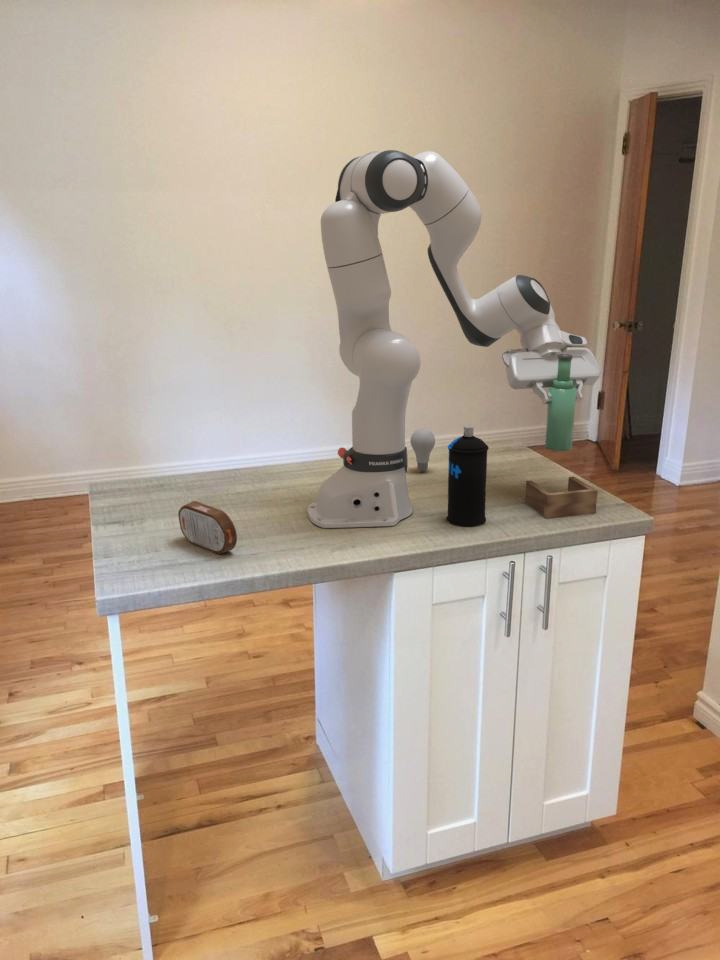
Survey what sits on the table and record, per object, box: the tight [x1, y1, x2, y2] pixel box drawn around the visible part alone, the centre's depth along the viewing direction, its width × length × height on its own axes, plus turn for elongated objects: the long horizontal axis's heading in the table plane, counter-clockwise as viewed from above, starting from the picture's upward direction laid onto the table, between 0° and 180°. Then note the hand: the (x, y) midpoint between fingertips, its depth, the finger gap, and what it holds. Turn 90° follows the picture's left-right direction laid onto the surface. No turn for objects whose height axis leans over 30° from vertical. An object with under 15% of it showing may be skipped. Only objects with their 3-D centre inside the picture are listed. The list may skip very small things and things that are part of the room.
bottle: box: [544, 354, 577, 452], centre depth 165 cm, size 6×6×20 cm
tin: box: [178, 500, 238, 555], centre depth 151 cm, size 15×3×8 cm, turn 48°
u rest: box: [524, 475, 598, 519], centre depth 169 cm, size 11×10×5 cm
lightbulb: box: [410, 428, 436, 473], centre depth 195 cm, size 6×6×11 cm
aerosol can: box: [445, 424, 489, 528], centre depth 161 cm, size 8×8×20 cm
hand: (563, 401), depth 164 cm, fingers closed on bottle, 6 cm apart
